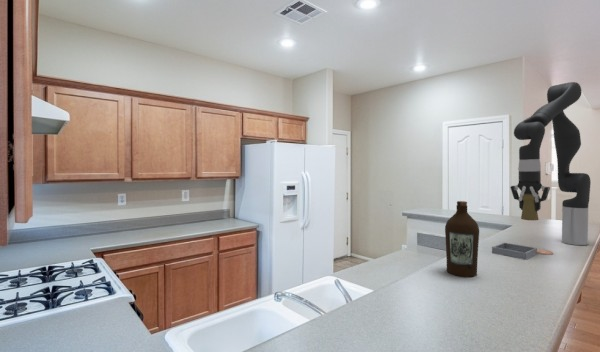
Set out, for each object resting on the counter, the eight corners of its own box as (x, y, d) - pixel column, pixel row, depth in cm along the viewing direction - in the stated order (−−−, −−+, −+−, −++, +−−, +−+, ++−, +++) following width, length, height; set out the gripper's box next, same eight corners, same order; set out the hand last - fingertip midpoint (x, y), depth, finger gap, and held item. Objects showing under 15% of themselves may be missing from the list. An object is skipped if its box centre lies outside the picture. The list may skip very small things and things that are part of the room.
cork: (532, 217, 135) (532, 192, 135) (542, 220, 129) (541, 193, 129) (517, 217, 136) (517, 192, 136) (526, 220, 130) (526, 194, 130)
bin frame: (504, 248, 141) (504, 242, 141) (537, 254, 131) (537, 248, 131) (492, 252, 133) (492, 247, 133) (526, 259, 123) (526, 253, 123)
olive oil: (446, 266, 117) (446, 199, 116) (478, 270, 111) (479, 200, 111) (443, 274, 107) (443, 202, 107) (479, 280, 102) (479, 204, 101)
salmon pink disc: (535, 249, 138) (535, 247, 138) (555, 252, 132) (555, 251, 132) (530, 252, 134) (530, 250, 134) (550, 255, 128) (550, 254, 128)
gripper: (553, 169, 128) (553, 210, 129) (513, 169, 140) (514, 207, 141) (547, 170, 124) (547, 213, 125) (506, 170, 135) (507, 209, 136)
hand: (529, 210), depth 133 cm, fingers closed on cork, 4 cm apart
